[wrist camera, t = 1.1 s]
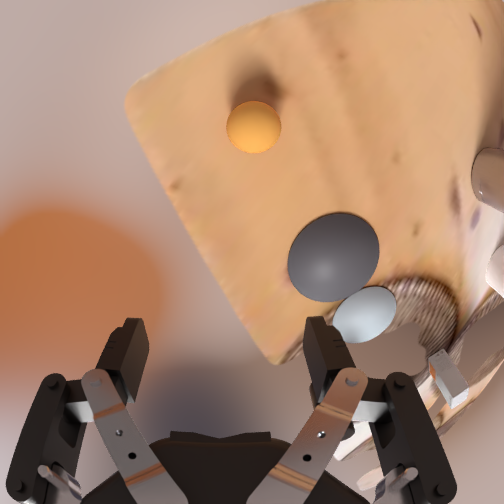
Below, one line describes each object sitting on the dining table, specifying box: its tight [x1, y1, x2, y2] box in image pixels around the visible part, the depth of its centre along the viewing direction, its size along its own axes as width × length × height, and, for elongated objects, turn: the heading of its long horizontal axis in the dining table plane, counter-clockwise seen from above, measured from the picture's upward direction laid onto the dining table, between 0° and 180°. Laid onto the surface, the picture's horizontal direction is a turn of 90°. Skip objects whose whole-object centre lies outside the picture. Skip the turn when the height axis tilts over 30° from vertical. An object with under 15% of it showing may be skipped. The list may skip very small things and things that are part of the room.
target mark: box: [288, 214, 379, 302], centre depth 37 cm, size 13×13×1 cm
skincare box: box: [428, 349, 469, 409], centre depth 44 cm, size 6×4×12 cm
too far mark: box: [333, 287, 396, 343], centre depth 42 cm, size 11×11×1 cm
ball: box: [226, 101, 281, 153], centre depth 27 cm, size 6×6×6 cm
